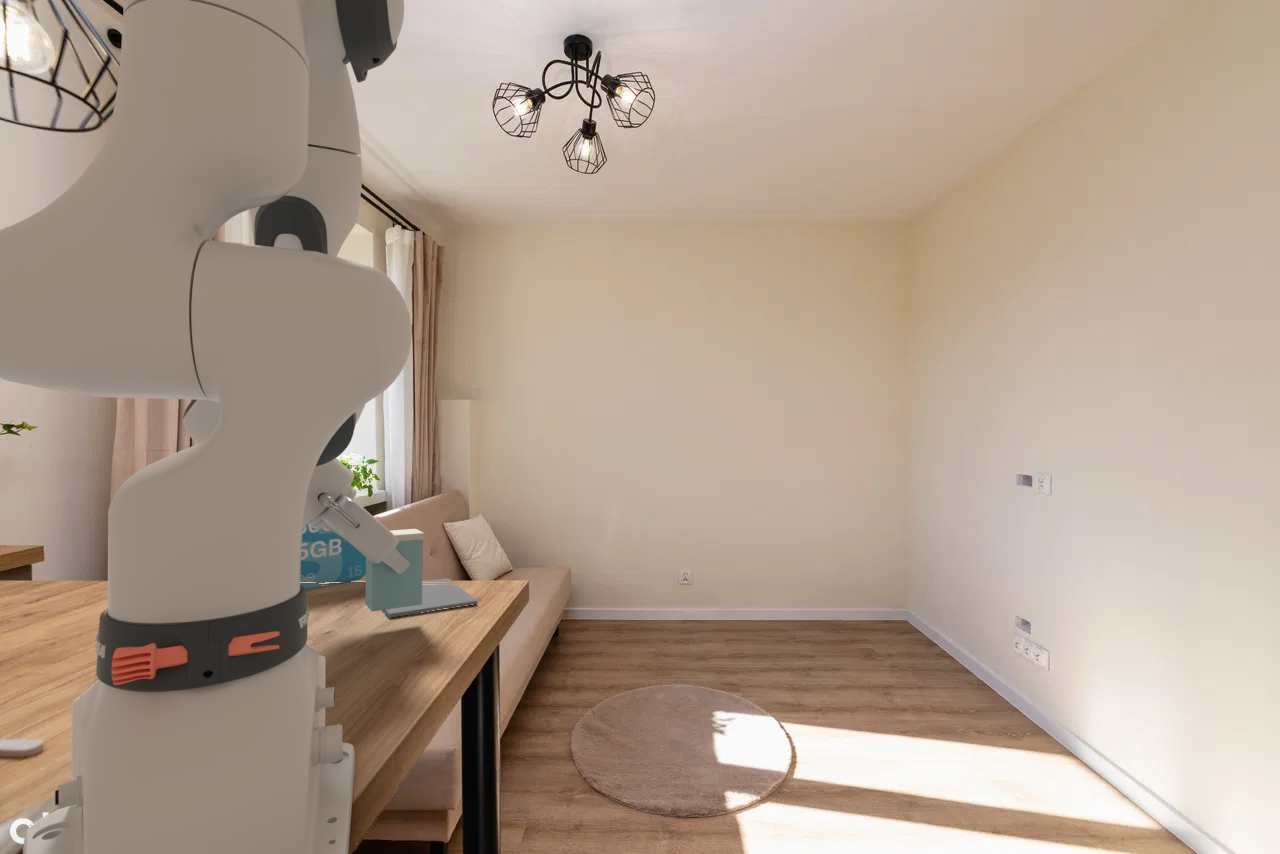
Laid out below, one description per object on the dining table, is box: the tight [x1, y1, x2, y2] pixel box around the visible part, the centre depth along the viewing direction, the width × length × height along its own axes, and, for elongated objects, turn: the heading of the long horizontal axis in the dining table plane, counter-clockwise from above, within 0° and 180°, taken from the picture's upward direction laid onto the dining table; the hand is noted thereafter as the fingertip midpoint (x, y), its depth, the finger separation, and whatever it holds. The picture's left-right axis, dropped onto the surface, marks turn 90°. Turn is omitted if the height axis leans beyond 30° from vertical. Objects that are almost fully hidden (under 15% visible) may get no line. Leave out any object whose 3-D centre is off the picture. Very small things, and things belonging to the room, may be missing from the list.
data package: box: [300, 507, 368, 591], centre depth 99 cm, size 12×4×12 cm, turn 139°
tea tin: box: [364, 528, 425, 613], centre depth 79 cm, size 4×6×9 cm
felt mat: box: [382, 577, 478, 619], centre depth 92 cm, size 14×12×1 cm
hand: (399, 564), depth 80 cm, fingers closed on tea tin, 4 cm apart
